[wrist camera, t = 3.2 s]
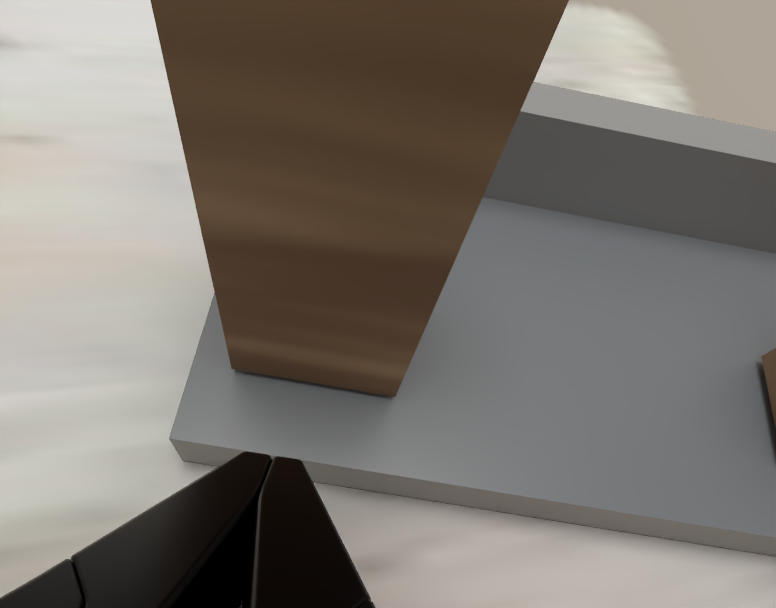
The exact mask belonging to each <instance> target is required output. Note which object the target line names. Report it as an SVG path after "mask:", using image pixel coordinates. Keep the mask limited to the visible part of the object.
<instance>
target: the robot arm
mask: <svg viewBox="0 0 776 608" xmlns="http://www.w3.org/2000/svg"><path fill="white" fill-rule="evenodd" d="M0 608H375V605H374V604H373V602H371V598H370V596H369V594H368V592H367V590H366V588H365V586H364V584H363V582H362V580H361V578H360V576H359V574H358V572H357V570H356V568H355V566H354V564H353V562H352V560H351V558H350V556H349V554H348V552H347V550H346V548H345V546H344V544H343V542H342V540H341V538H340V536H339V534H338V532H337V530H336V528H335V526H334V524H333V522H332V520H331V518H330V516H329V514H328V512H327V510H326V508H325V506H324V504H323V502H322V500H321V498H320V496H319V494H318V492H317V490H316V488H315V486H314V484H313V482H312V480H311V478H310V476H309V474H308V472H307V470H306V468H305V466H304V464H303V462H302V461H301V460H299V459H294V458H288V457H281V456H276V457H274V458H273V459H272V458H271V456H270V455H268V454H262V453H255V452H249V451H245V452H242V453H240V454H239V455H237V456H235V457H234V458H232V459H230V460H229V461H227V462H226V463H224V464H222V465H221V466H219V467H217V468H216V469H214V470H212V471H211V472H209V473H207V474H206V475H204V476H202V477H201V478H199V479H198V480H196V481H194V482H193V483H191V484H189V485H188V486H186V487H184V488H183V489H181V490H179V491H178V492H176V493H175V494H173V495H171V496H170V497H168V498H166V499H165V500H163V501H161V502H160V503H158V504H156V505H155V506H153V507H151V508H150V509H148V510H147V511H145V512H143V513H142V514H140V515H138V516H137V517H135V518H133V519H132V520H130V521H128V522H127V523H125V524H123V525H122V526H120V527H119V528H117V529H115V530H114V531H112V532H110V533H109V534H107V535H105V536H104V537H102V538H100V539H99V540H97V541H96V542H94V543H92V544H91V545H89V546H87V547H86V548H84V549H82V550H81V551H79V552H77V553H76V554H74V555H73V556H72V557H71V559H66V560H64V561H62V562H61V563H59V564H57V565H56V566H54V567H52V568H51V569H49V570H47V571H46V572H44V573H42V574H41V575H39V576H37V577H36V578H34V579H32V580H30V581H29V582H27V583H25V584H23V585H22V586H20V587H18V588H16V589H15V590H13V591H11V592H10V593H8V594H6V595H4V596H3V597H1V598H0Z"/></svg>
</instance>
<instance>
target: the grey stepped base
mask: <svg viewBox="0 0 776 608" xmlns="http://www.w3.org/2000/svg"><path fill="white" fill-rule="evenodd" d="M775 348H776V132H773V131H768V130H764V129H758V128H754V127H749V126H744V125H739V124H734V123H729V122H725V121H720V120H714V119H710V118H705V117H701V116H696V115H691V114H686V113H681V112H676V111H671V110H667V109H662V108H657V107H652V106H647V105H642V104H638V103H633V102H628V101H623V100H618V99H613V98H608V97H604V96H599V95H594V94H589V93H584V92H579V91H575V90H570V89H565V88H560V87H555V86H550V85H545V84H541V83H536V82H533V83H532V86H531V88H530V90H529V92H528V95H527V97H526V99H525V102H524V104H523V106H522V108H521V111H520V113H519V115H518V118H517V120H516V122H515V124H514V127H513V129H512V131H511V134H510V136H509V138H508V140H507V143H506V145H505V147H504V150H503V152H502V154H501V156H500V159H499V161H498V163H497V166H496V168H495V170H494V172H493V175H492V177H491V179H490V182H489V184H488V186H487V189H486V191H485V193H484V195H483V198H482V200H481V202H480V205H479V207H478V209H477V211H476V214H475V216H474V218H473V221H472V223H471V225H470V227H469V230H468V232H467V234H466V237H465V239H464V241H463V243H462V246H461V248H460V250H459V253H458V255H457V257H456V259H455V262H454V264H453V266H452V269H451V271H450V273H449V275H448V278H447V280H446V282H445V285H444V287H443V289H442V291H441V294H440V296H439V298H438V301H437V303H436V305H435V307H434V310H433V312H432V314H431V317H430V319H429V321H428V323H427V326H426V328H425V330H424V333H423V335H422V337H421V339H420V342H419V344H418V346H417V349H416V351H415V353H414V356H413V358H412V360H411V362H410V365H409V367H408V369H407V372H406V374H405V376H404V378H403V381H402V383H401V385H400V388H399V390H398V392H397V394H396V397H393V396H387V395H381V394H376V393H370V392H364V391H358V390H352V389H346V388H341V387H335V386H329V385H323V384H317V383H311V382H306V381H300V380H294V379H288V378H282V377H277V376H271V375H265V374H259V373H253V372H247V371H242V370H236V369H232V368H231V364H230V359H229V355H228V350H227V346H226V341H225V336H224V332H223V327H222V323H221V318H220V314H219V309H218V305H217V300H216V295H215V293H214V296H213V300H212V303H211V306H210V309H209V312H208V316H207V319H206V322H205V325H204V328H203V332H202V335H201V338H200V341H199V344H198V348H197V351H196V354H195V357H194V360H193V364H192V367H191V370H190V373H189V376H188V380H187V383H186V386H185V389H184V392H183V396H182V399H181V402H180V405H179V408H178V412H177V415H176V418H175V421H174V424H173V428H172V431H171V434H170V437H169V439H170V441H171V442H172V444H173V446H174V447H175V449H176V450H177V452H178V454H179V455H180V457H181V459H182V460H183V461H189V462H195V463H201V464H208V465H214V466H221V465H222V464H224V463H226V462H227V461H229V460H230V459H232V458H234V457H235V456H237V455H239V454H240V453H242V452H245V451H249V452H255V453H262V454H268V455H270V456H271V458H272V459H273V458H274V457H276V456H281V457H288V458H294V459H299V460H301V461H302V462H303V464H304V466H305V468H306V470H307V472H308V474H309V476H310V478H311V480H312V481H313V482H319V483H325V484H331V485H337V486H344V487H350V488H356V489H362V490H368V491H375V492H381V493H387V494H393V495H399V496H406V497H412V498H418V499H424V500H430V501H437V502H443V503H449V504H455V505H461V506H467V507H474V508H480V509H486V510H492V511H498V512H505V513H511V514H517V515H523V516H529V517H536V518H542V519H548V520H554V521H560V522H566V523H573V524H579V525H585V526H591V527H597V528H604V529H610V530H616V531H622V532H628V533H635V534H641V535H647V536H653V537H659V538H665V539H672V540H678V541H684V542H690V543H696V544H703V545H709V546H715V547H721V548H727V549H734V550H740V551H746V552H752V553H758V554H764V555H771V556H776V428H775V423H774V418H773V413H772V408H771V403H770V398H769V392H768V387H767V382H766V377H765V372H764V367H763V362H762V357H761V356H763V355H765V354H766V353H768V352H770V351H771V350H773V349H775Z"/></svg>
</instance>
